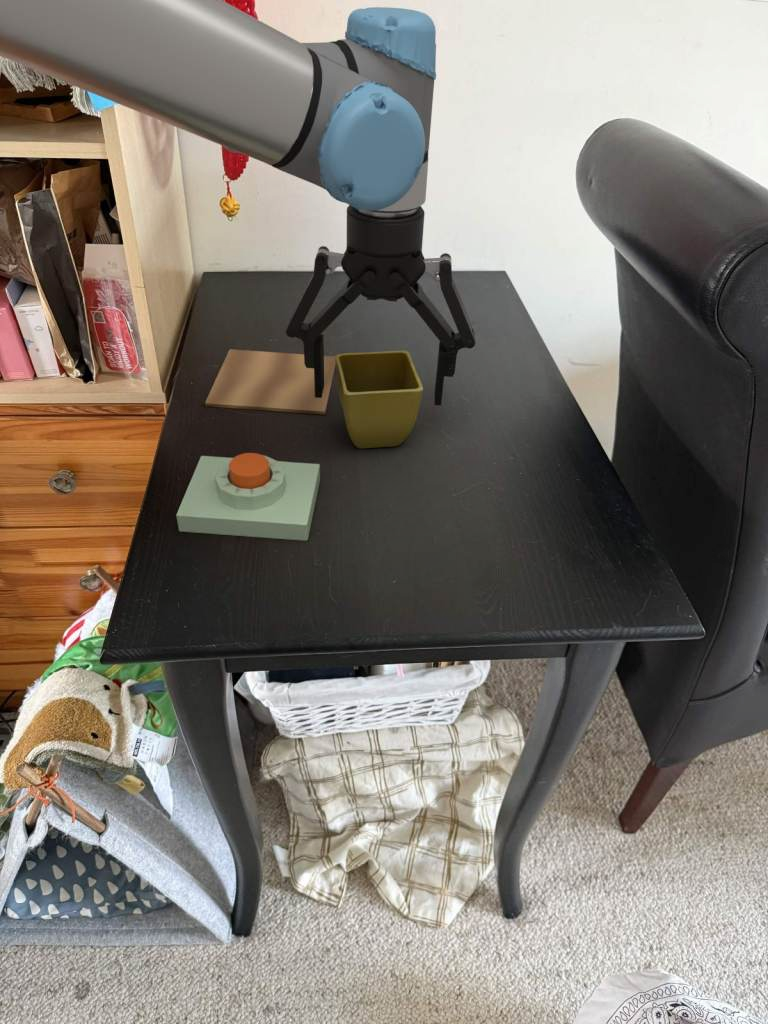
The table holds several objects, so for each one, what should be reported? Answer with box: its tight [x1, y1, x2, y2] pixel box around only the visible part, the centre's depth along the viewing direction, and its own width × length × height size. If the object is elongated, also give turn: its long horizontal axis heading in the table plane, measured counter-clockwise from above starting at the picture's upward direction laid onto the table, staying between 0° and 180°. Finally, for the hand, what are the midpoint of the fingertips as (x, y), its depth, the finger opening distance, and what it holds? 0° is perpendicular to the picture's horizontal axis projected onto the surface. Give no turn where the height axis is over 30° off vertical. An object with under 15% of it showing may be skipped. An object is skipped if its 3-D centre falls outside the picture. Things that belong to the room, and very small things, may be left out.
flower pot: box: [334, 350, 424, 449], centre depth 84 cm, size 9×9×9 cm
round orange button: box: [229, 452, 270, 489], centre depth 74 cm, size 4×4×2 cm
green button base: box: [175, 454, 321, 542], centre depth 76 cm, size 13×10×4 cm
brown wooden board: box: [204, 348, 336, 415], centre depth 96 cm, size 15×14×1 cm
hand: (378, 395), depth 84 cm, fingers open, 13 cm apart
